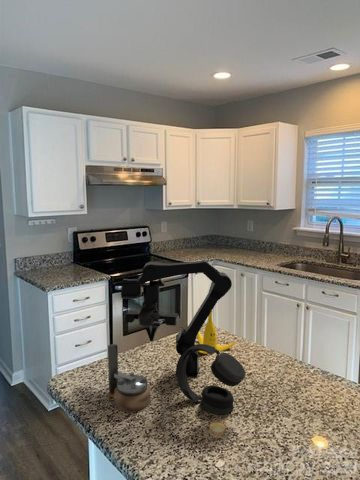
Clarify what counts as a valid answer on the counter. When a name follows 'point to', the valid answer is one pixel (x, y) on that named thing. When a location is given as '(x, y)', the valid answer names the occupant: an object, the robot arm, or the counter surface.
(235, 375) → the headphones
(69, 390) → the counter surface
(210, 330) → the banana peel
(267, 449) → the counter surface
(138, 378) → the lugged disk with column
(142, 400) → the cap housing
